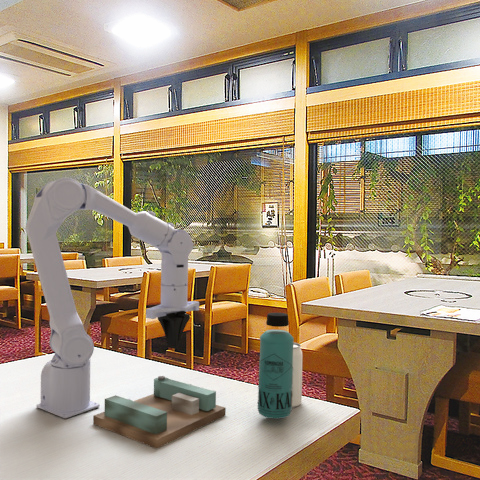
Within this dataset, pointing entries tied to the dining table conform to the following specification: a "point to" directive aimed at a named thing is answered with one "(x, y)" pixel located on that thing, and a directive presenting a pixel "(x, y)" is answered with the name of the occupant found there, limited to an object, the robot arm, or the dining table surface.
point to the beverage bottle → (275, 369)
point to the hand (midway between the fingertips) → (173, 347)
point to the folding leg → (184, 392)
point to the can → (297, 375)
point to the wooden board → (155, 418)
